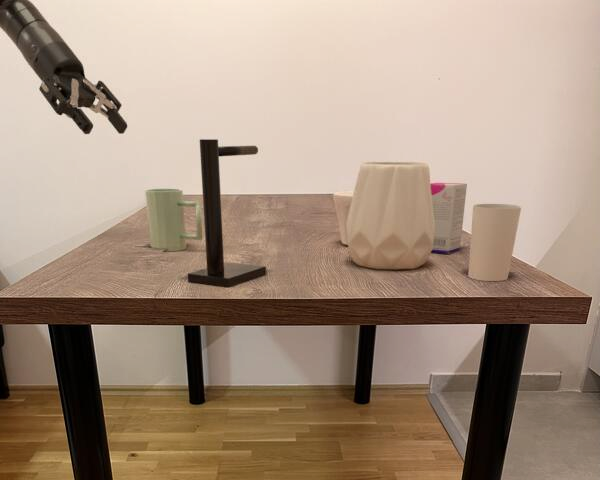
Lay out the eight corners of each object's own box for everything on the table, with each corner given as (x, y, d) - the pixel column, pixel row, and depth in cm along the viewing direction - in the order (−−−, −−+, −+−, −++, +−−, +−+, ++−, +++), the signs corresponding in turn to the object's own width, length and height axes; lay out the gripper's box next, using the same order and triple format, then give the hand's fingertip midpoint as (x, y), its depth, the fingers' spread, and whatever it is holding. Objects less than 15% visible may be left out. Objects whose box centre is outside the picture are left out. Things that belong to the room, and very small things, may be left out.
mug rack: (228, 287, 88) (222, 139, 80) (188, 282, 91) (177, 139, 83) (278, 270, 99) (276, 138, 91) (240, 266, 102) (235, 138, 94)
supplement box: (460, 250, 116) (468, 182, 111) (448, 254, 111) (455, 184, 106) (431, 247, 119) (437, 181, 114) (418, 251, 114) (423, 183, 109)
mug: (143, 249, 115) (137, 190, 111) (166, 244, 120) (161, 188, 116) (191, 254, 110) (187, 193, 106) (213, 249, 115) (210, 190, 111)
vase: (326, 262, 104) (329, 162, 98) (384, 253, 113) (390, 160, 106) (392, 276, 95) (399, 166, 88) (449, 264, 103) (460, 163, 97)
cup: (359, 251, 114) (362, 196, 110) (321, 244, 121) (321, 192, 117) (395, 245, 120) (399, 193, 116) (356, 239, 127) (358, 189, 123)
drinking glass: (467, 281, 92) (475, 208, 88) (463, 271, 98) (470, 203, 94) (514, 282, 91) (525, 209, 87) (507, 273, 97) (517, 204, 93)
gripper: (72, 78, 120) (125, 145, 121) (9, 73, 109) (68, 147, 109) (89, 44, 116) (144, 114, 116) (25, 35, 105) (86, 112, 105)
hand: (107, 130), depth 113 cm, fingers open, 8 cm apart
